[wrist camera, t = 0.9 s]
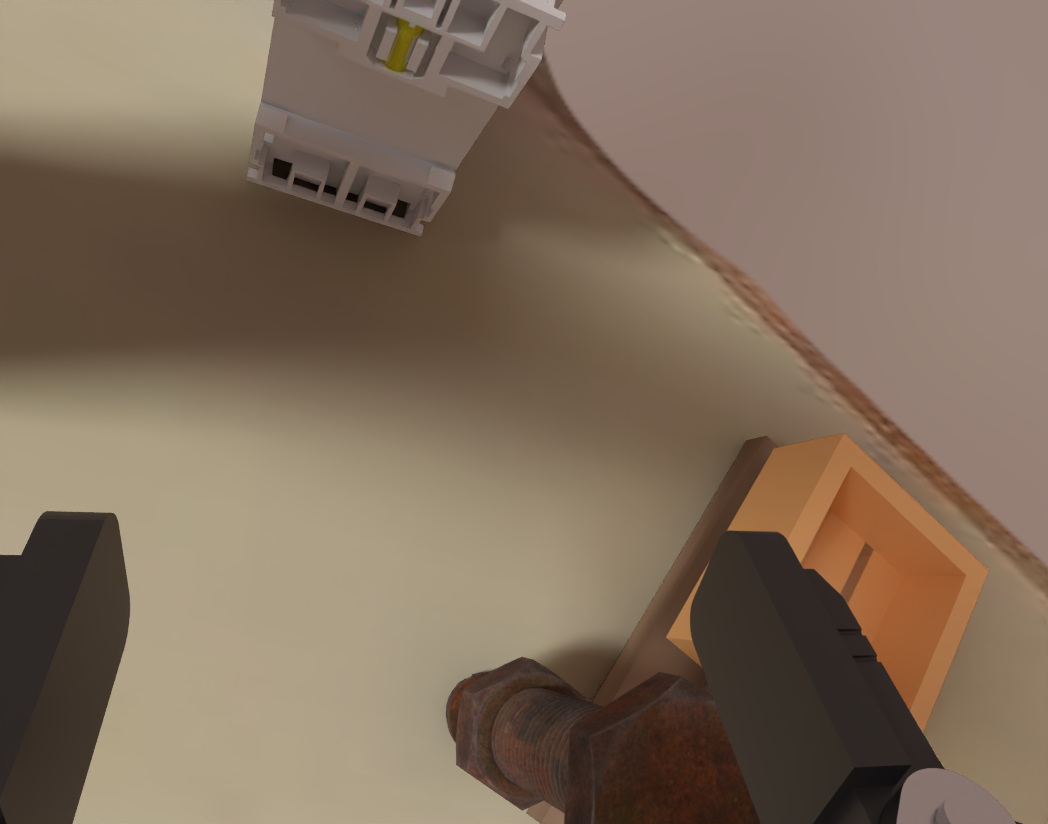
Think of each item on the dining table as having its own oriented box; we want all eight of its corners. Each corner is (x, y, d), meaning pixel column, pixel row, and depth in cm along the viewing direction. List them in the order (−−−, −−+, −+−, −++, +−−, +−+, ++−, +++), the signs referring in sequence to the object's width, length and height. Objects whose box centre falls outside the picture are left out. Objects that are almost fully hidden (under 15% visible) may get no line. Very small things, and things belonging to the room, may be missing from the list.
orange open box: (665, 637, 34) (730, 645, 30) (774, 448, 38) (844, 432, 34) (818, 765, 36) (899, 789, 32) (907, 571, 40) (988, 570, 36)
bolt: (441, 809, 32) (635, 982, 18) (390, 689, 32) (545, 772, 18) (563, 732, 34) (814, 834, 21) (515, 621, 34) (734, 650, 21)
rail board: (526, 812, 33) (540, 822, 32) (746, 440, 41) (766, 435, 39) (699, 943, 35) (721, 958, 33) (879, 563, 42) (902, 562, 41)
